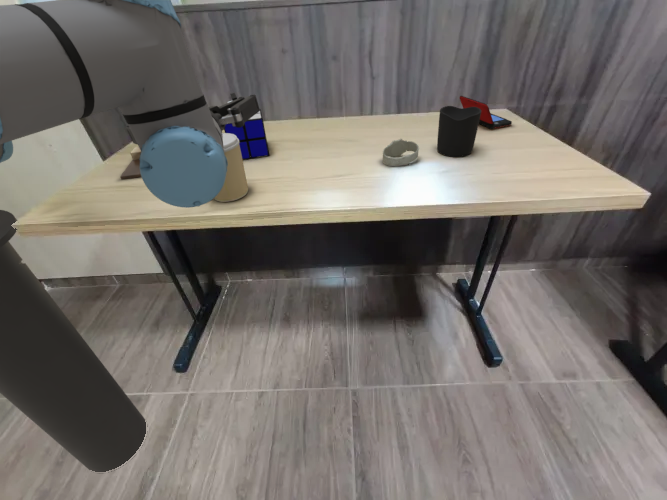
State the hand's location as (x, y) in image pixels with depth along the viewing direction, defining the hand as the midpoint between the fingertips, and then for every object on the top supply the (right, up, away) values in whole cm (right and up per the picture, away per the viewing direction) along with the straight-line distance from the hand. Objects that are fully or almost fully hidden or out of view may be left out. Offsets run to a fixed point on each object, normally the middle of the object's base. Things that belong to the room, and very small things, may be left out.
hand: (196, 110), depth 62 cm
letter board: (-20, 0, +35) cm, 40 cm away
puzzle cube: (+1, +3, +36) cm, 36 cm away
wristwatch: (+41, -3, +25) cm, 48 cm away
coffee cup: (+1, -12, +16) cm, 20 cm away
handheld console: (+69, +13, +43) cm, 82 cm away
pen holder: (+55, +1, +28) cm, 62 cm away
